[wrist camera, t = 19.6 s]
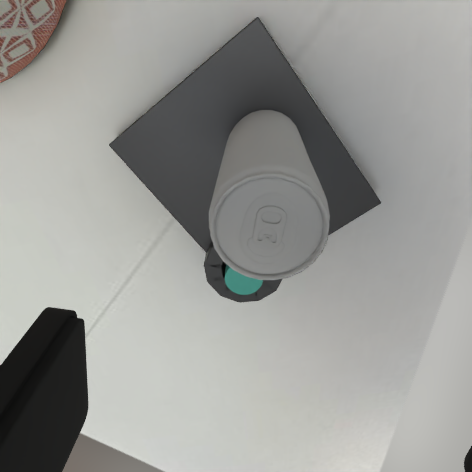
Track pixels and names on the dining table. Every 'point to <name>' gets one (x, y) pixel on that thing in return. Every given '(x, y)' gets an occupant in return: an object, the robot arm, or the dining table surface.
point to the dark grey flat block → (217, 133)
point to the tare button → (241, 282)
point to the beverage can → (268, 200)
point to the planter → (25, 31)
